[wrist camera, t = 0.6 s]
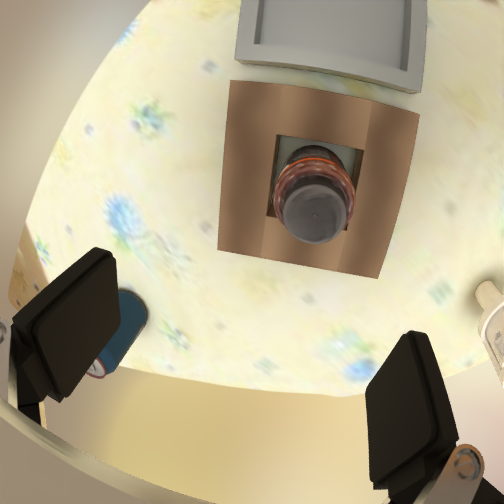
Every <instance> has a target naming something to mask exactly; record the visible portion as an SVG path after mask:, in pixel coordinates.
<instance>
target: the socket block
mask: <svg viewBox="0 0 504 504" xmlns="http://www.w3.org/2000/svg"><path fill="white" fill-rule="evenodd" d="M419 117H420V114H417V113H414V112H410V111H407V110H404V109H400V108H397V107H393V106H390V105H386V104H382V103H378V102H374V101H370V100H366V99H362V98H358V97H353V96H348V95H344V94H339V93H333V92H328V91H323V90H317V89H311V88H304V87H297V86H290V85H282V84H273V83H263V82H252V81H237V80H230V90H229V100H228V111H227V121H226V133H225V145H224V157H223V170H222V184H221V198H220V214H219V230H218V248H217V250H221V251H226V252H231V253H237V254H242V255H248V256H253V257H259V258H264V259H270V260H275V261H281V262H286V263H292V264H297V265H303V266H308V267H314V268H319V269H325V270H331V271H336V272H342V273H347V274H353V275H359V276H364V277H370V278H375V279H378V276H379V274H380V271H381V268H382V265H383V262H384V259H385V256H386V253H387V250H388V246H389V243H390V240H391V237H392V233H393V230H394V227H395V223H396V220H397V216H398V213H399V209H400V205H401V201H402V198H403V194H404V190H405V186H406V182H407V177H408V173H409V169H410V164H411V160H412V155H413V150H414V145H415V140H416V134H417V129H418V123H419ZM280 135H285V136H292V137H299V138H305V139H311V140H316V141H322V142H327V143H332V144H337V145H342V146H347V147H352V148H357V154H356V160H355V165H354V170H353V175H352V180H351V182H352V184H353V187H354V190H355V197H356V205H355V211H354V213H353V216H352V218H351V220H350V222H349V223H348V224H347V225H346V226H345V228H344V229H343V230H342V231H341V232H340V233H339V234H338V236H336V237H335V238H334V239H332V240H330V241H329V242H325V243H322V244H315V245H314V244H308V243H304V242H302V241H300V240H298V239H296V238H295V237H294V236H292V235H291V233H290V232H289V231H288V230H287V229H286V228H285V227H284V226H283V225H282V224H281V222H280V221H279V219H278V217H277V216H276V213H275V210H274V205H273V204H271V201H272V194H273V186H274V179H275V171H276V163H277V155H278V147H279V139H280Z"/></svg>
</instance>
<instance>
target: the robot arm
mask: <svg viewBox="0 0 504 504" xmlns="http://www.w3.org/2000/svg"><path fill="white" fill-rule="evenodd" d="M12 319H13V322H14V323H13V324H12V325H11V326H10V325H9V323H8V322H7V321H6V320H5V319H3V318H0V504H215V503H211V502H208V501H204V500H200V499H197V498H193V497H190V496H186V495H184V494H180V493H177V492H174V491H171V490H168V489H166V488H163V487H160V486H157V485H155V484H152V483H149V482H147V481H144V480H142V479H139V478H137V477H135V476H132V475H130V474H128V473H125V472H123V471H121V470H119V469H117V468H114V467H112V466H110V465H108V464H106V463H104V462H102V461H100V460H98V459H96V458H94V457H92V456H90V455H89V454H87V453H85V452H83V451H81V450H79V449H78V448H76V447H74V446H72V445H71V444H69V443H67V442H66V441H64V440H62V439H61V438H59V437H57V436H56V435H54V434H53V433H51V432H49V431H48V430H47V425H46V418H45V409H44V399H45V397H46V396H47V395H48V396H49V397H51V398H52V399H54V400H56V401H57V402H59V403H60V402H61V401H62V400H63V398H64V397H65V398H66V397H68V396H70V394H71V393H72V392H73V390H74V389H75V387H76V386H77V385H78V383H79V382H80V380H81V379H82V377H83V376H84V375H85V373H86V372H87V370H88V369H89V368H90V366H91V365H92V364H93V362H94V361H95V359H96V358H97V357H98V355H99V354H100V353H101V351H102V350H103V349H104V347H105V346H106V345H107V343H108V342H109V341H110V339H111V338H112V337H113V335H114V334H115V333H116V331H117V330H118V328H119V326H120V323H121V315H120V306H119V296H118V283H117V269H116V259H115V258H114V257H113V255H112V253H111V252H110V251H107V250H104V249H101V248H98V247H94V248H93V249H91V250H90V251H89V252H87V253H86V254H85V255H84V256H82V257H81V258H80V259H79V260H77V261H76V262H75V263H74V264H73V265H71V266H70V267H69V268H68V269H67V270H65V271H64V272H63V273H62V274H61V275H59V276H58V277H57V278H56V279H55V280H53V281H52V282H51V283H50V284H49V285H48V286H47V287H45V288H44V289H43V290H42V291H41V292H40V293H39V294H38V295H36V296H35V297H34V298H33V299H32V300H31V301H30V302H29V303H28V304H27V305H25V306H24V307H23V308H22V309H21V310H20V311H19V312H18V313H17V314H16V315H15V316H14V317H13V318H12ZM365 398H366V409H367V410H366V411H367V425H368V441H369V442H368V443H369V471H370V472H369V475H370V480H371V482H373V485H374V486H373V489H374V490H377V489H378V490H381V489H388V495H389V496H388V497H387V498H386V500H385V501H384V502H383V503H382V504H504V495H503V494H502V493H501V492H499V491H498V490H497V489H496V488H495V487H494V486H492V485H491V484H490V483H489V482H488V481H487V480H486V479H484V478H483V473H484V460H483V457H482V456H481V453H480V452H479V451H478V450H477V449H476V448H475V447H473V446H472V445H469V444H461V445H459V446H456V441H458V440H459V436H458V432H457V428H456V424H455V420H454V416H453V412H452V408H451V405H450V401H449V398H448V394H447V391H446V388H445V385H444V381H443V378H442V375H441V372H440V369H439V366H438V363H437V360H436V357H435V354H434V352H433V349H432V346H431V343H430V341H429V338H428V336H427V334H426V333H422V332H417V331H412V330H411V331H409V332H407V334H403V335H402V336H401V337H400V339H399V341H398V342H397V344H396V345H395V347H394V348H393V350H392V351H391V353H390V354H389V356H388V357H387V359H386V360H385V362H384V363H383V365H382V366H381V368H380V369H379V371H378V372H377V373H376V375H375V376H374V378H373V379H372V380H371V382H370V383H369V384H368V386H367V388H366V392H365Z"/></svg>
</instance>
